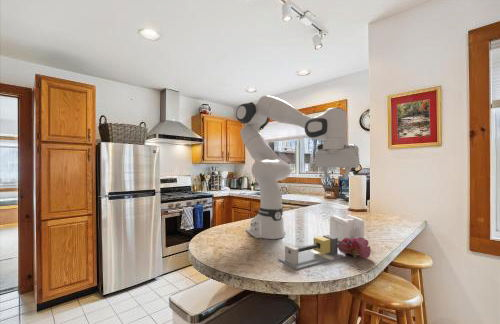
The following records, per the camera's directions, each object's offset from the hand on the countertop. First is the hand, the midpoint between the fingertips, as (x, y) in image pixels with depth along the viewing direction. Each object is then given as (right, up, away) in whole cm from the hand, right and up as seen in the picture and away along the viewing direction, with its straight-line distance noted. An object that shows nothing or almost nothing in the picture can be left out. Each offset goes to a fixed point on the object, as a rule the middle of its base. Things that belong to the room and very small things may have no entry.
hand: (335, 178), depth 103 cm
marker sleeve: (-8, -29, -6) cm, 30 cm away
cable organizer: (+10, -32, +14) cm, 36 cm away
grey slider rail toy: (-12, -31, -9) cm, 34 cm away
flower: (+5, -31, -6) cm, 32 cm away
